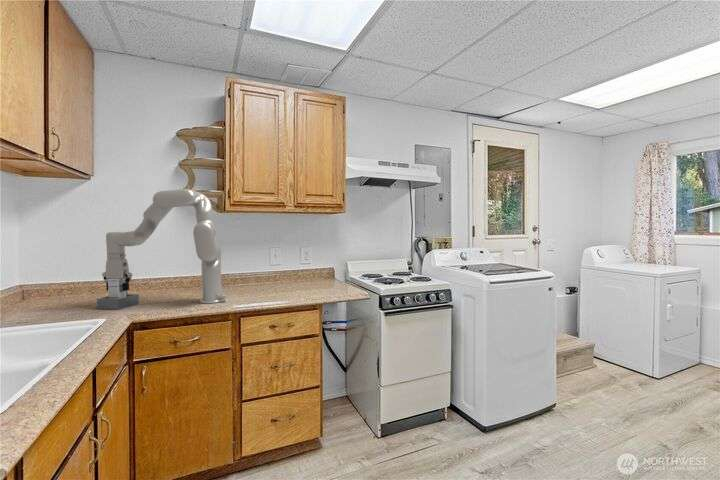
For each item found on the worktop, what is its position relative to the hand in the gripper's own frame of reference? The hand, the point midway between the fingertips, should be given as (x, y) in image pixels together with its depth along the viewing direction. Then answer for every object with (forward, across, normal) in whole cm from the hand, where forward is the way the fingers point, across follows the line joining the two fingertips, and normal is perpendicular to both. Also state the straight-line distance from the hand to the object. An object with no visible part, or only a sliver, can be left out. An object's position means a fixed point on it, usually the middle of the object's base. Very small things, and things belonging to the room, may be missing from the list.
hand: (117, 290), depth 178 cm
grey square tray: (+8, 0, 0) cm, 8 cm away
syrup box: (+8, 0, 0) cm, 9 cm away
